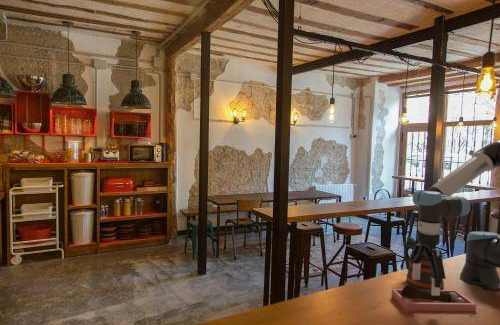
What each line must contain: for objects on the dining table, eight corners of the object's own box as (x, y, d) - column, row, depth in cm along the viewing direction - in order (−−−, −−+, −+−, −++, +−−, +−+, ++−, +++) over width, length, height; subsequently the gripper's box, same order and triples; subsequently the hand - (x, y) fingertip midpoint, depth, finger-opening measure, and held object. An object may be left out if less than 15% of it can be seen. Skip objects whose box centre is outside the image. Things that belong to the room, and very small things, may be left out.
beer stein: (389, 280, 151) (392, 237, 150) (412, 275, 157) (415, 234, 156) (427, 299, 134) (430, 250, 133) (451, 293, 140) (454, 246, 139)
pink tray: (455, 298, 136) (455, 289, 135) (475, 313, 124) (476, 304, 123) (391, 297, 135) (391, 289, 135) (405, 312, 123) (406, 303, 123)
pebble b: (460, 303, 129) (461, 296, 129) (466, 307, 126) (466, 299, 126) (453, 303, 129) (453, 296, 129) (458, 307, 126) (458, 299, 126)
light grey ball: (454, 298, 133) (455, 290, 133) (459, 302, 130) (460, 294, 130) (446, 298, 133) (447, 290, 133) (451, 302, 130) (452, 294, 130)
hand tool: (444, 300, 132) (446, 288, 131) (450, 305, 128) (453, 293, 127) (397, 293, 131) (399, 281, 131) (402, 298, 127) (404, 286, 127)
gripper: (403, 223, 140) (400, 273, 141) (437, 242, 115) (434, 302, 116) (420, 224, 140) (417, 273, 141) (459, 242, 115) (455, 302, 116)
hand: (425, 286), depth 129 cm, fingers open, 13 cm apart
